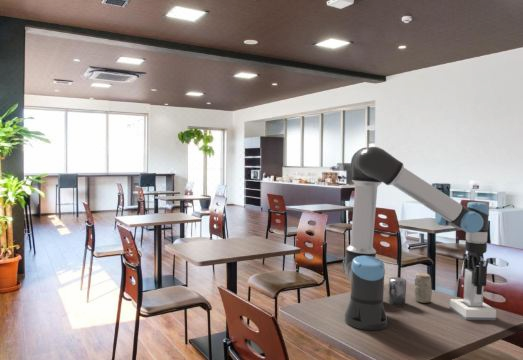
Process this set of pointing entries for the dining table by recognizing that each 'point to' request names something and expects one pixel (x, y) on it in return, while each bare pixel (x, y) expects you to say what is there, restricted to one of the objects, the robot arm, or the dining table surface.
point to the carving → (422, 287)
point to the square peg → (471, 289)
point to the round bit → (397, 291)
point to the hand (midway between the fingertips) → (472, 299)
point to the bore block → (472, 311)
